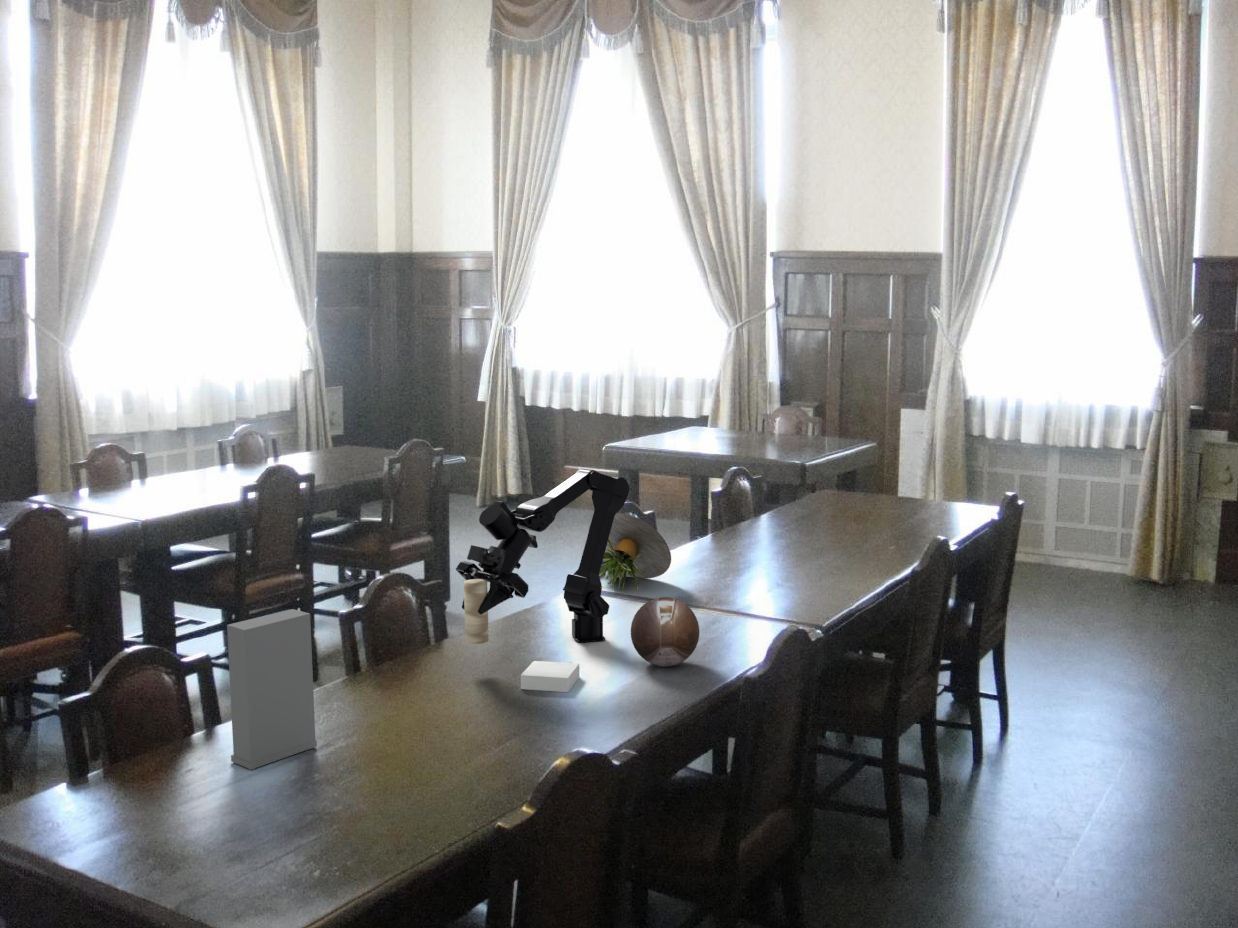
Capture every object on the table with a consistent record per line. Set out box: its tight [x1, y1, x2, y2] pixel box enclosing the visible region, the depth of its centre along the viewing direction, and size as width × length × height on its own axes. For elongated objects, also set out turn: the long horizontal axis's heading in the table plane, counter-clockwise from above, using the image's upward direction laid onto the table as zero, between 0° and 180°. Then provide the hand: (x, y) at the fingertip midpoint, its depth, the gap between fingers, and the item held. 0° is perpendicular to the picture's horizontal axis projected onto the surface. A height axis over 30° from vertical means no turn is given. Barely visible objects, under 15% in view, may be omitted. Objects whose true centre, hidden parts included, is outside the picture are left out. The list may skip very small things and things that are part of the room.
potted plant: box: [582, 512, 672, 592], centre depth 342 cm, size 25×18×25 cm
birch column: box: [463, 579, 490, 645], centre depth 267 cm, size 5×5×13 cm
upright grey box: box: [226, 608, 318, 771], centre depth 219 cm, size 14×6×25 cm, turn 141°
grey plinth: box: [520, 660, 580, 693], centre depth 260 cm, size 10×10×3 cm
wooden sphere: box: [630, 596, 700, 668], centre depth 271 cm, size 15×15×15 cm
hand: (471, 611), depth 266 cm, fingers closed on birch column, 5 cm apart
